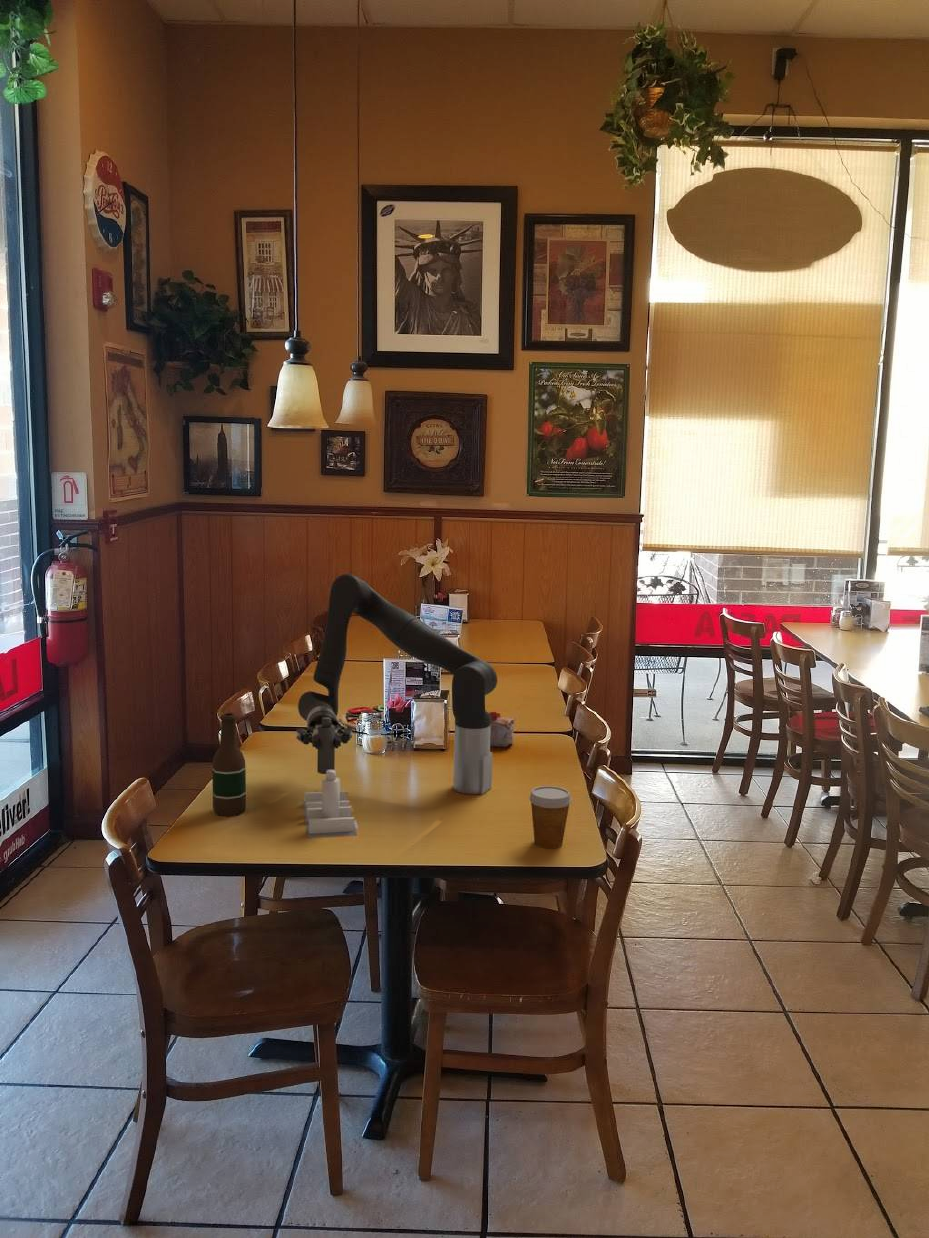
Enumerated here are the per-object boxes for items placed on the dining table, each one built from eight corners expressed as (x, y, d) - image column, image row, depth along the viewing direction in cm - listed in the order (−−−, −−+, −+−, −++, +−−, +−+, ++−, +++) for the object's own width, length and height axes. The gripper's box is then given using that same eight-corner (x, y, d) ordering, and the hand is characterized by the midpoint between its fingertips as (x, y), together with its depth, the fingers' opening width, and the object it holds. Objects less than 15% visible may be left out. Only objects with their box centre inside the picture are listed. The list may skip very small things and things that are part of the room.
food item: (517, 743, 307) (518, 711, 305) (509, 750, 299) (510, 718, 298) (474, 738, 311) (475, 706, 309) (465, 745, 304) (466, 713, 302)
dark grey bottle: (337, 770, 243) (338, 717, 241) (328, 775, 239) (329, 721, 237) (323, 767, 244) (323, 715, 242) (314, 772, 241) (314, 719, 239)
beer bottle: (232, 803, 250) (231, 708, 246) (252, 811, 245) (251, 714, 241) (206, 811, 244) (204, 714, 240) (226, 819, 239) (225, 720, 235)
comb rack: (302, 806, 249) (302, 788, 248) (350, 804, 251) (350, 786, 250) (307, 844, 226) (307, 824, 225) (359, 841, 228) (360, 822, 227)
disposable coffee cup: (566, 835, 235) (568, 785, 233) (572, 851, 225) (574, 799, 223) (525, 834, 234) (527, 784, 232) (529, 851, 225) (531, 799, 223)
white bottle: (342, 824, 234) (343, 770, 231) (333, 830, 230) (334, 775, 228) (327, 821, 235) (328, 767, 233) (318, 826, 232) (318, 772, 229)
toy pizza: (325, 717, 331) (325, 704, 330) (403, 709, 344) (404, 697, 343) (357, 740, 307) (357, 726, 306) (439, 730, 319) (440, 717, 319)
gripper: (293, 710, 252) (296, 729, 236) (351, 709, 255) (358, 728, 239) (293, 739, 254) (296, 760, 237) (350, 737, 256) (357, 759, 240)
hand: (327, 744), depth 238 cm, fingers closed on dark grey bottle, 4 cm apart
